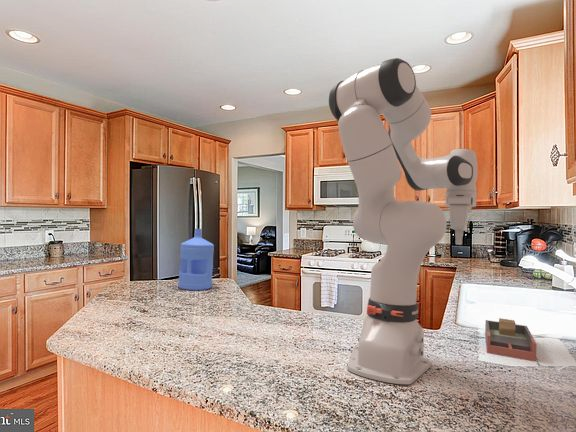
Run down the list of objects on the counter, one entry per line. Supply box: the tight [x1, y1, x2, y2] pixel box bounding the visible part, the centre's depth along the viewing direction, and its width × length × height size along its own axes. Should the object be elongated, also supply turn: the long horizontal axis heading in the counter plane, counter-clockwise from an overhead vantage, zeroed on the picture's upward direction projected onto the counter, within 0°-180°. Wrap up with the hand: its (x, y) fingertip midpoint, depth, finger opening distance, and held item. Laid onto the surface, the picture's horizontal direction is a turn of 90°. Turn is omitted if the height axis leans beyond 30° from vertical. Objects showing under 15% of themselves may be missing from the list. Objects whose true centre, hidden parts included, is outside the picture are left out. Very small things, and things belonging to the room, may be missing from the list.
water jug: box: [177, 228, 215, 291], centre depth 172 cm, size 16×16×28 cm
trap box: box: [484, 319, 538, 362], centre depth 104 cm, size 20×11×4 cm, turn 153°
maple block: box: [498, 317, 516, 337], centre depth 109 cm, size 4×4×4 cm
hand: (458, 244), depth 114 cm, fingers closed
